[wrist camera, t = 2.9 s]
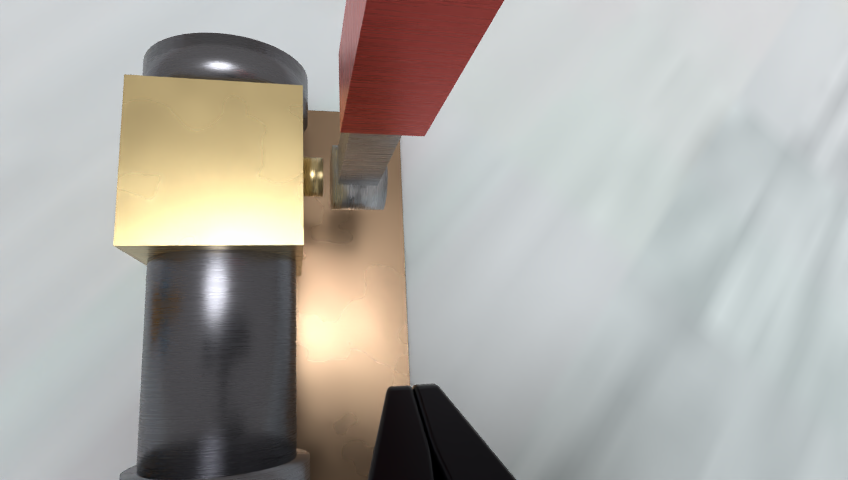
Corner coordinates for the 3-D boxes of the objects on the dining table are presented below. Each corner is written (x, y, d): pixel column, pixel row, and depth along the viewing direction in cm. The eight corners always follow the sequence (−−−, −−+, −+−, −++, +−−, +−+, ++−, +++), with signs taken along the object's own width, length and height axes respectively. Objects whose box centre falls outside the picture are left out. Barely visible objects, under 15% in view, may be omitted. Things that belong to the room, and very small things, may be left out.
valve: (409, 495, 21) (463, 562, 15) (157, 523, 19) (79, 617, 12) (394, 124, 25) (433, 32, 18) (175, 114, 22) (120, 5, 15)
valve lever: (379, 216, 18) (517, -16, 7) (324, 216, 18) (374, -31, 6) (377, 159, 19) (505, -150, 7) (323, 158, 18) (370, -173, 7)
